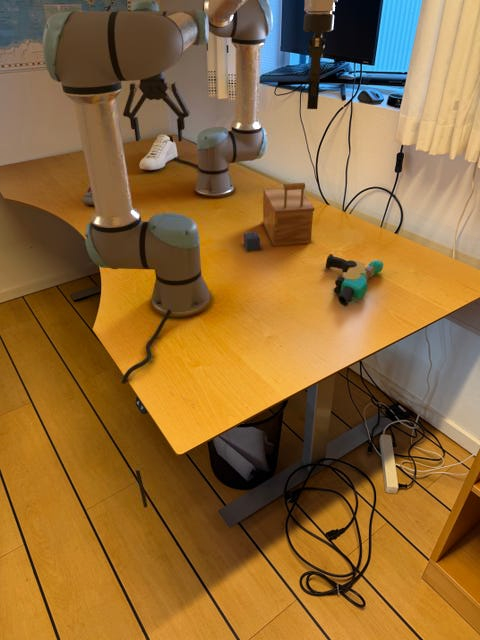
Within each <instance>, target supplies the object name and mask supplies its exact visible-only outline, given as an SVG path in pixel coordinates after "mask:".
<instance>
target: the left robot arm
mask: <svg viewBox="0 0 480 640" xmlns="http://www.w3.org/2000/svg"><path fill="white" fill-rule="evenodd" d="M159 7H160V6H159V3H158V2H157V0H132V2H130V11H127V10H122V11H121V10H120V11H77V10H76V11H75V10H71V11H64V12H57V13H53V14H52V15H51V16H50V17H48V19H47V21H46V23H45V24H44V25H45V26H44V30H43V35H42V54H43V60H44V65H45V68H46V71H47V72H48V76H49V77H50V78H51V79H52V80H53V81H55V82H57V83H61V87H62V92H63V94H64V95H65V96H66V97H67V98H69V99H70V100H71V101H72V102H73V107H74V111H75V112H74V113H75V116H76V122H77V127H78V132H79V137H80V142H81V147H82V151H83V152H82V153H83V157H84V161H85V166H86V172H87V177H88V181H89V187H91V191H92V196H93V201H94V205H93V206H94V212H93V213H92V214H91V215H90V219H89V220H90V221H89V222H88V223H87V224H86V227H85V230H84V236H85V240H84V241H85V247H86V250H87V251H86V252H87V254H88V256H89V258H90V260H91V261H92V262H93V263H94V264H95V265H96V266H97V267H99V268H103V269H111V270H118V269H121V270H154V274H155V275H154V276H155V281H154V284H153V290H152V294H151V305H152V308H153V310H154V311H155V312H156V313H157V314H159V315H160V316H163V317H162V319H161V321H160V323H159V324H158V326H157V328H156V330H155V331H154V333H153V335H152V336H151V338H149V340H148V341H147V342H146V344H145V352H146V357H145V358H144V359H143V360H142V361H140V362H138V363H136V364H134V365H133V366H131V367H129V369H127V370H126V372H125V373H124V375H123V376H122V379H121V384H123V385H125V384H126V383H127V381H128V379H129V377H130V375H131V374H132V373H134V372H135V371H136V370H137V369H139V368H141V367H144V366H145V365H146V364H147V363H149V361H150V360H151V358H152V351H151V345H152V344H153V343H154V342H155V340H156V339H158V336H159V334H161V333H160V332H161V331H162V329H163V327H164V326H165V324H166V322H167V320H168V318H171V319H183V318H185V319H186V318H190V317H194V316H196V315H199V314H201V313H202V312H204V311H205V310H207V308H208V307H209V306H210V303H211V292H210V290H209V288H208V285H207V282H206V281H205V278H204V277H203V275H202V262H201V261H202V259H201V247H200V244H201V238H200V234H199V228H198V224H197V223H196V222H195V221H194V220H193V219H192V218H190V217H189V216H187V215H185V214H181V213H176V212H162V213H156V214H154V215H152V216H150V218H149V219H148V221H145V220H144V221H143V220H142V216H141V212H140V211H139V209H137V208H136V207H134V206H133V201H132V195H131V194H132V193H131V187H130V180H129V175H128V169H127V164H126V163H127V162H126V161H127V160H126V155H125V147H124V141H123V134H122V130H121V123H120V122H121V121H120V115H119V110H118V103H117V98H118V96H119V95H120V93H121V92H122V91H123V86H122V82H129V81H130V82H131V83H130V84H129V93H128V97H127V99H126V102H125V107H124V109H123V112H122V115H123V117H125V118H128V119H129V122H130V128H131V130H134V136H135V141H136V142H140V140H141V132H140V126H139V117H138V116H136V115H137V114H138V113H139V111H140V109H141V108H142V106H143V105H144V103H145V101H146V100H147V99H148V100H149V101H153V100H156V101H160V100H162V101H163V102H164V103H166V105H167V106H168V107H169V108H170V109H171V111H172V112H173V113H174V114H175V115H176V116H177V119H176V126H177V137H178V138H177V139H178V142H180V143H181V142H182V141H183V140H184V139H183V131H184V130H185V128H186V124H185V118H188V117H189V116H190V114H191V112H190V110H189V108H188V107H187V104H186V103H185V101H184V99H183V97H182V95H181V93H180V91H179V89H178V88H179V87H178V83H177V82H176V81H173V82H172V83H171V82H170V83H168V82H167V79H166V78H167V77H166V71H167V70H169V69H171V68H172V67H174V66H175V65H177V63H178V62H179V61H180V60H181V57H182V55H183V53H184V51H185V50H187V49H188V48H189V47H190V46H198V47H199V46H201V45H202V46H203V45H207V44H208V42H209V38H210V37H209V36H210V31H209V24H208V16H207V14H206V13H205V12H204V11H201V10H196V9H194V10H170V11H169V10H160V8H159ZM132 81H133V82H132ZM134 81H139V83H136V82H134ZM168 89H169V91H170V92H172V94H173V97H174V98H175V100H176V102H177V104H176V103H175V102H174V101H173V99H172V98H171V97H170V96H169V94H168V93H167V91H168ZM138 90H140V92H142V94H141V96H140V97H139V100H138V101H137V103H136V105H134V107H133V109H132V110H131V108H132V105H133V103H134V99H135V96H136V93H137V92H138ZM178 106H179V107H180V108H179V107H178ZM134 471H135V474H136V478H137V483H138V486H139V492H140V495H141V499H142V504H143V508H145V509H146V508H147V507H148V502H147V496H146V492H145V487H144V483H143V479H142V475H141V471H140V470H139V469H138V470H136V469H135V470H134Z"/></svg>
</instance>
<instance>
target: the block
mask: <svg viewBox="0 0 480 640" xmlns="http://www.w3.org/2000/svg"><path fill="white" fill-rule="evenodd" d="M243 247H244V249H245V250H246V252H254V251H259V250H260V251H261V237H260V235H259V234H258V232H257V231H254V232H246V233H243Z"/></svg>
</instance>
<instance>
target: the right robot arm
mask: <svg viewBox="0 0 480 640" xmlns="http://www.w3.org/2000/svg"><path fill="white" fill-rule="evenodd" d="M338 1H339V0H304V9H303V10H304V12H305V14H304V16H303V31H304V32H307V33H312V37H311V38H310V39H309V45H308V46H309V47H308V48H309V58H310V66H309V77H308V78H306V83H308V91H307V103H306V105H307V106H306V108H307V109H306V110H318V105H319V93H320V92H319V91H320V79H321V74H322V73H323V68H321V60H322V58H323V56H324V49H325V46H326V45H325V44H326V39H325V38H323V37H324V34H323V33H328V32H332V31H333V30H334V22H335V21H334V20H335V15H334V14H333V12H335V9H336V8H335V7H336V5H335V2H338ZM200 11H204V12H205V13H206V14H207V16H208V24H209V33H211V34H212V35H213V36H216V37H218V38H225V39H226V38H228V39H229V38H230V39H231V42H230V43H231V44H232V45H233V47H234V48H235V102H234V103H235V104H234V105H235V107H234V109H235V111H234V113H235V114H234V115H235V117H234V118H235V119H234V120H233V121H232V123H231V126H230V129H231V130H228V128H227V127H225V126H219V127H218V126H213V127H209V128H206V129H202V130H201V131H199V133H198V134H197V137H196V149H197V163H198V164H197V163H194V162H192V161H188V160H184V159H182V158H178V157H175V158H174V159H173V160H175V161H178V162H181V163H183V164H188V165H191V166H193V167H196V168H198V175H197V179H196V182H195V190H194V191H195V194H196V195H198V196H200V197H204V198H206V199H207V198H208V199H209V198H210V199H217V198H219V199H220V198H225V197H227V196H230V195H232V194H234V191H235V187H234V182H233V180H232V177H231V174H230V171H229V168H230V167H229V166H230V165H229V164H235V163H240V162H241V163H242V162H248V161H250V162H253V161H255V160H259V159H262V157H263V156H264V155H265V153H266V151H267V147H268V137H267V130H266V129H265V128H264V127H263V124H262V123H261V121H259V106H260V81H261V79H260V78H261V76H260V74H261V49H262V47H263V46H264V45H265V44H266V37H268V36H269V35H271V33H272V31H273V27H274V26H273V25H274V20H273V19H274V17H273V11H272V7H271V4H270V2H269V0H203V2H202V5H201V9H200Z"/></svg>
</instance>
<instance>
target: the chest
mask: <svg viewBox="0 0 480 640" xmlns="http://www.w3.org/2000/svg"><path fill="white" fill-rule="evenodd" d="M262 193H263V196H262V197H263V198H262V200H263V201H262V203H263V204H262V224H263V226H264V228H265V230H266V232H267V234H268V237H269V239H270V241H271V243H272V245H273V246H274V247H275V246H276V247H277V246H287V245H289V246H290V245H299V244H308V243H309V244H311V242H312V231H313V221H314V220H313V219H314V211H309V212H296V213H283V214H275V212H274V210H273V209H272V207H271V205H270V203H269V201H268V199H267V197H266V196H265V194H264V192H262Z"/></svg>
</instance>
